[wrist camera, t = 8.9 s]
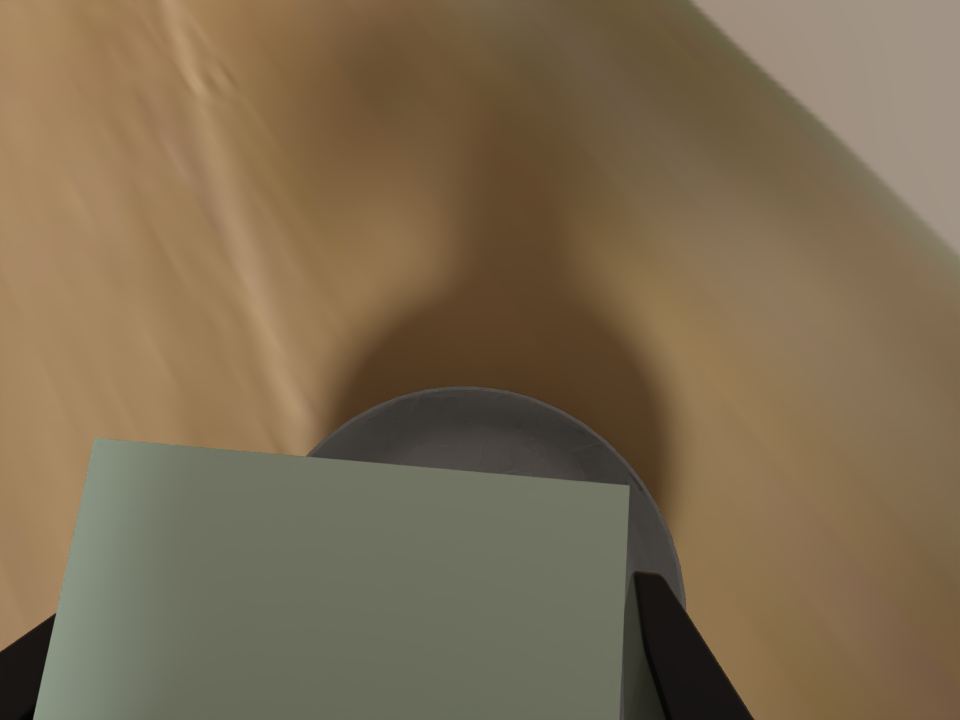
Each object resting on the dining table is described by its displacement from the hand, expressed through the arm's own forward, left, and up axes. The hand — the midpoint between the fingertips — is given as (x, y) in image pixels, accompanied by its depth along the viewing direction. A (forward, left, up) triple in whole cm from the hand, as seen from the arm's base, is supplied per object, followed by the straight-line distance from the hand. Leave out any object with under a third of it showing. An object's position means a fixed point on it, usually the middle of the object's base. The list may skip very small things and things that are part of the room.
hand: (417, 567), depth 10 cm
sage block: (-1, 0, -8) cm, 8 cm away
